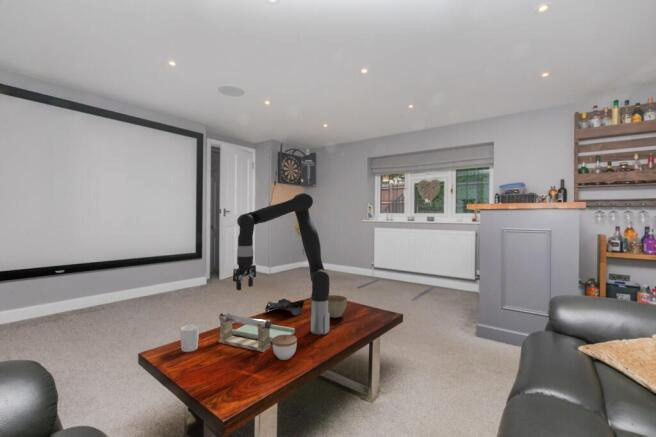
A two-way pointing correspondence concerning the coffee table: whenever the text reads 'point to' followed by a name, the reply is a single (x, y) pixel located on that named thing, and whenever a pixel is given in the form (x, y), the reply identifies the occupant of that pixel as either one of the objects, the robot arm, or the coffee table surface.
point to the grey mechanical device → (286, 306)
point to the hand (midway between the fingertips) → (244, 288)
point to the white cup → (189, 337)
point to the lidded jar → (284, 346)
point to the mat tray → (252, 331)
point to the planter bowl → (336, 305)
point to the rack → (258, 345)
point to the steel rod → (245, 320)
